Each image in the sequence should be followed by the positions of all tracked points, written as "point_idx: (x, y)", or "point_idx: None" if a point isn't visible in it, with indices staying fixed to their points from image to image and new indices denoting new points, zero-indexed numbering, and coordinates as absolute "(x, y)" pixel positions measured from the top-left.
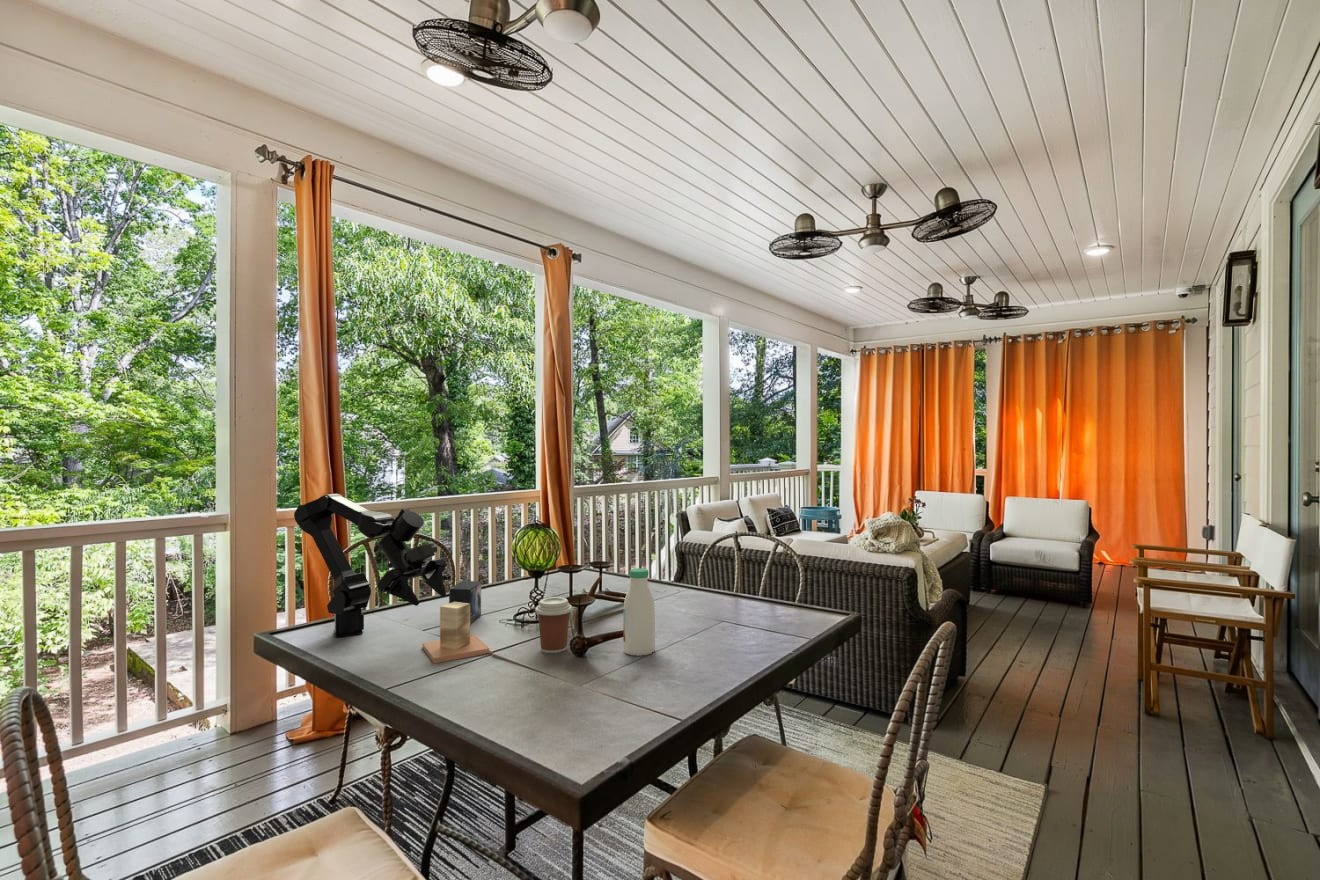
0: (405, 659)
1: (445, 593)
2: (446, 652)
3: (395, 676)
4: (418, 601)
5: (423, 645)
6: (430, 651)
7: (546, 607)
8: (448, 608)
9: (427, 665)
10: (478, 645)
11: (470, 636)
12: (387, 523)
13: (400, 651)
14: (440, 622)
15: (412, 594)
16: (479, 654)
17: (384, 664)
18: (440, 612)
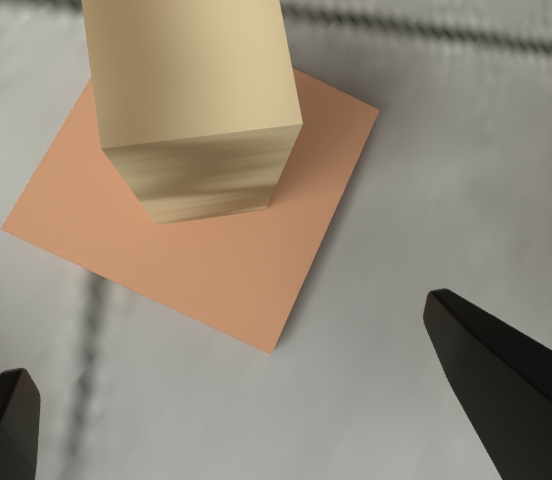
0: (414, 272)
1: (4, 377)
2: None
3: (542, 132)
4: (445, 296)
5: (282, 326)
6: (333, 198)
7: None
8: (283, 35)
9: (401, 124)
10: None
11: (45, 217)
12: None
13: (364, 399)
14: (281, 168)
15: (543, 350)
16: None
17: (502, 295)
18: (292, 141)
